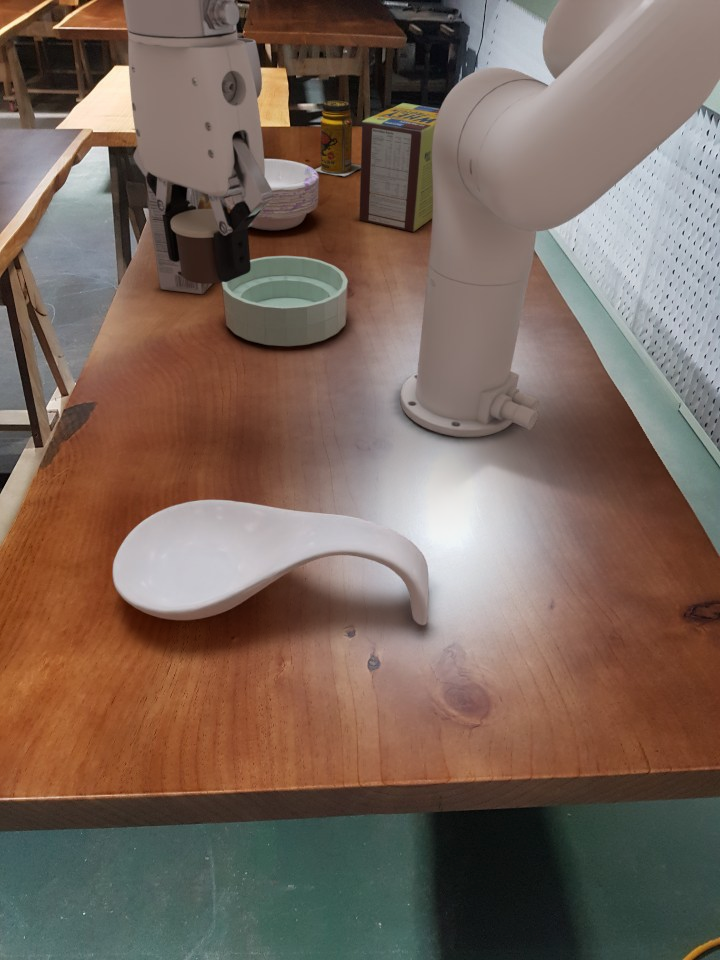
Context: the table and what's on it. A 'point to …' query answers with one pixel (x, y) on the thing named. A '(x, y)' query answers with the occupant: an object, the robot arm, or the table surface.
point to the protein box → (398, 167)
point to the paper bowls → (286, 195)
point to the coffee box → (166, 268)
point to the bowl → (286, 301)
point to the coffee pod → (196, 245)
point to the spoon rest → (246, 555)
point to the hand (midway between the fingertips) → (209, 264)
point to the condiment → (336, 139)
